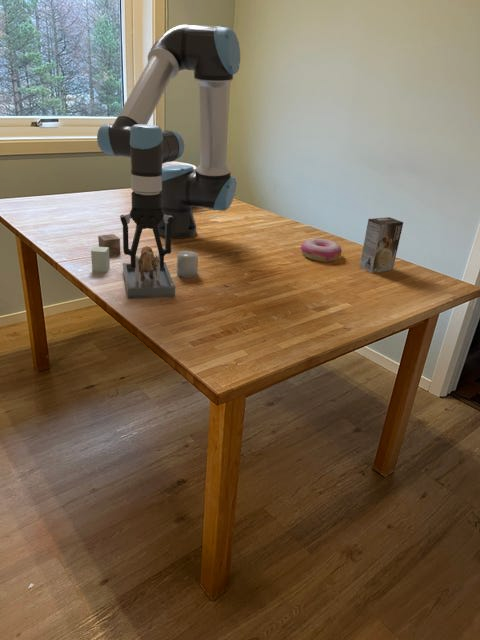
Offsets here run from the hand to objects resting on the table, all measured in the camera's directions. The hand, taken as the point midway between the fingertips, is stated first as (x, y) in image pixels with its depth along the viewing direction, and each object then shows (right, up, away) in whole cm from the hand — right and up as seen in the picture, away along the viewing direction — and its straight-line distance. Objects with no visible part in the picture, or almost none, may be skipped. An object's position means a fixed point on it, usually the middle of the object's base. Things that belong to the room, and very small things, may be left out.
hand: (147, 277), depth 130 cm
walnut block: (-16, +10, +21) cm, 28 cm away
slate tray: (0, -1, +1) cm, 2 cm away
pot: (-6, +39, +80) cm, 89 cm away
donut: (+52, +10, +33) cm, 63 cm away
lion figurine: (0, +1, +2) cm, 2 cm away
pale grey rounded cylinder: (+10, +2, +10) cm, 14 cm away
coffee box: (+69, +5, +26) cm, 74 cm away
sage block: (-15, +3, +8) cm, 17 cm away
